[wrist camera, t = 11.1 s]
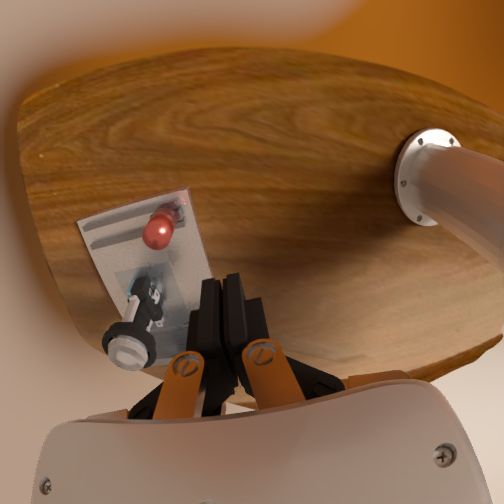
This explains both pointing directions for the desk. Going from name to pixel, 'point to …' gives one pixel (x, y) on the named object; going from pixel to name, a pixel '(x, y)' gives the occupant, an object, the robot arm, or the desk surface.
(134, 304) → the push button
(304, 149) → the desk surface
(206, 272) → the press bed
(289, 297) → the desk surface
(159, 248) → the lever
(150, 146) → the desk surface
